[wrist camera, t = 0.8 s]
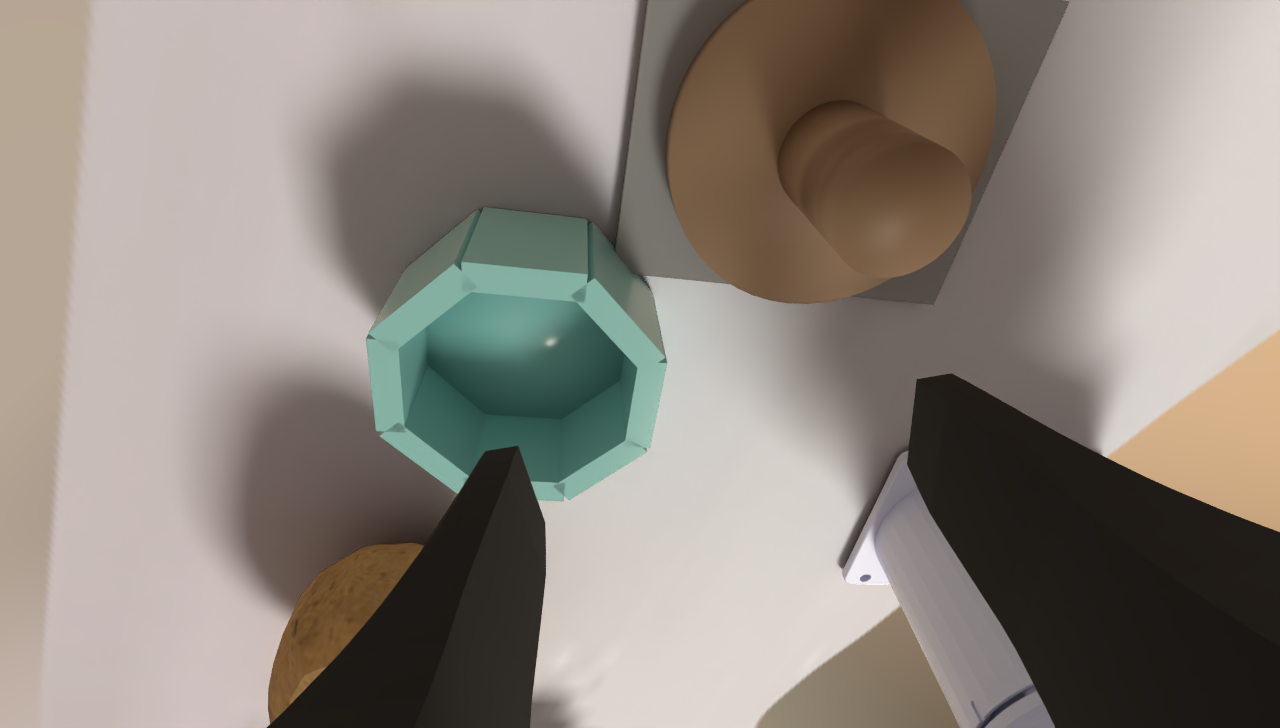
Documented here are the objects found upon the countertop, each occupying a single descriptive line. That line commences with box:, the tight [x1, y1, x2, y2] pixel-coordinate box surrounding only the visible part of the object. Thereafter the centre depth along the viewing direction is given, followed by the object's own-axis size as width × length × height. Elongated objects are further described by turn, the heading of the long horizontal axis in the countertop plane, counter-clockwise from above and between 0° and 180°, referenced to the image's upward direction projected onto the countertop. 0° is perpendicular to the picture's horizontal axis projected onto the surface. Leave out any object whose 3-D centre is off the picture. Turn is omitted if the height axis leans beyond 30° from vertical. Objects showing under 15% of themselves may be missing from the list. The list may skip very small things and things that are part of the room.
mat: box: [615, 0, 1069, 305], centre depth 18 cm, size 11×9×1 cm
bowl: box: [366, 207, 667, 501], centre depth 19 cm, size 8×8×4 cm
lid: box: [666, 0, 996, 304], centre depth 16 cm, size 9×9×6 cm
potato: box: [268, 542, 424, 724], centre depth 24 cm, size 10×14×8 cm
